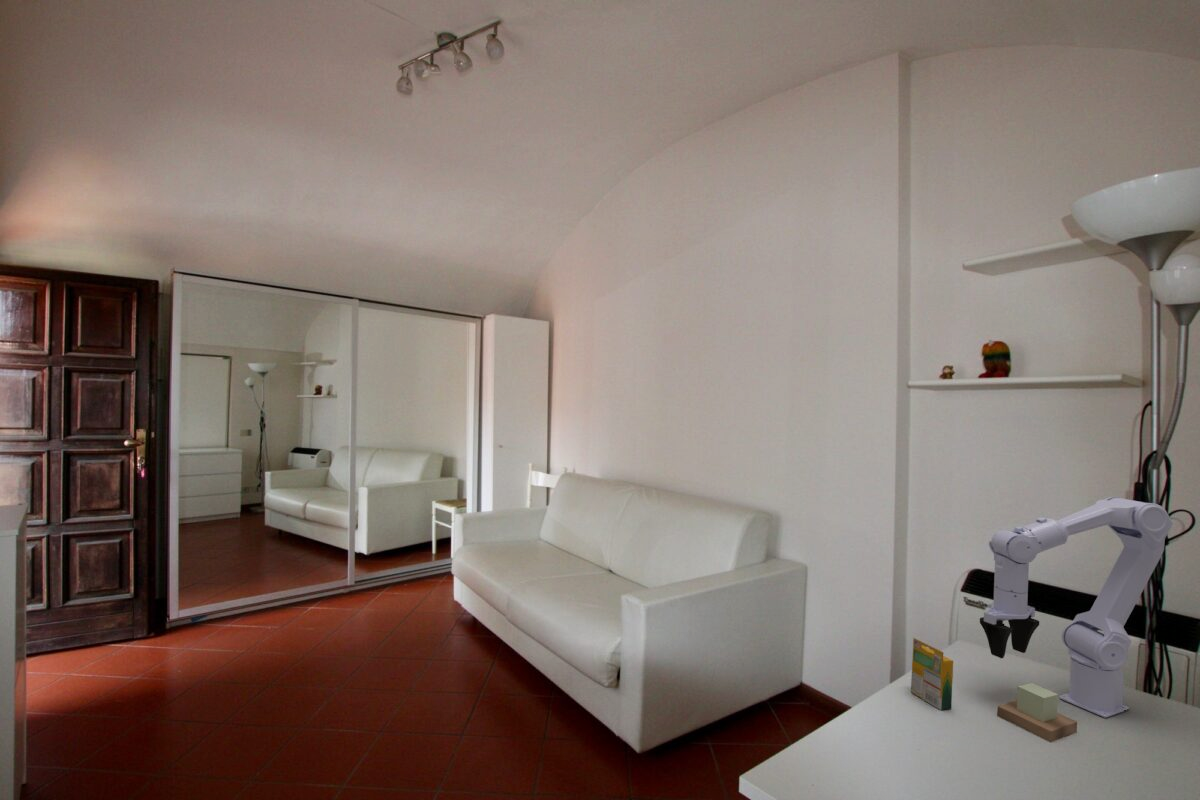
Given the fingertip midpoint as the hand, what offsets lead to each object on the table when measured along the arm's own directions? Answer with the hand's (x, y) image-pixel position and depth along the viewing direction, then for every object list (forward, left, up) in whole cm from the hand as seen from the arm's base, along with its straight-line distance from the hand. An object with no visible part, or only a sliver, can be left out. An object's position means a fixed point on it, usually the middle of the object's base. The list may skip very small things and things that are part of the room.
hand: (1008, 653), depth 115 cm
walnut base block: (+5, +8, -10) cm, 14 cm away
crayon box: (+17, -5, -10) cm, 20 cm away
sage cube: (+5, +8, -8) cm, 12 cm away
